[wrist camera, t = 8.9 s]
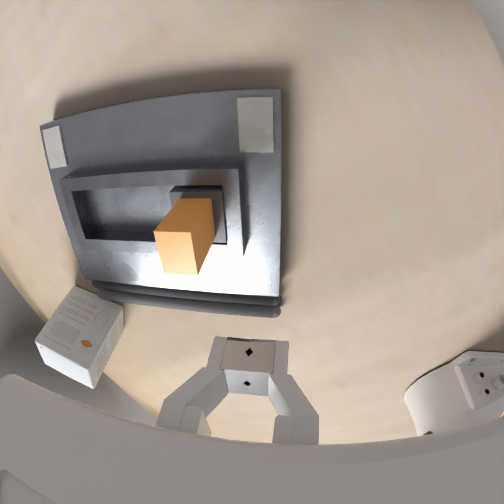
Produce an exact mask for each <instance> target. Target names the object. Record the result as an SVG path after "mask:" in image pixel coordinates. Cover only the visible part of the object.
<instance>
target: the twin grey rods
mask: <svg viewBox="0 0 504 504" xmlns="http://www.w3.org/2000/svg"><path fill="white" fill-rule="evenodd" d="M92 284H93V286H94V287H96V288H100V289H98V291H97V295H98V297H99V298H100V299H105V300H111V301H118V302H125V303H132V304H139V305H147V306H154V307H162V308H171V309H179V310H188V311H198V312H207V313H218V314H229V315H241V316H254V317H268V318H276V317H278V316H279V315H280V313H281V310H280V307H279V306H278V304H279V303H280V302H281V295H280V294H279V297H278V296H261V295H246V294H232V293H219V292H206V291H195V290H183V289H173V288H162V287H152V286H143V285H134V284H125V283H116V282H107V281H99V280H92Z"/></svg>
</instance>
